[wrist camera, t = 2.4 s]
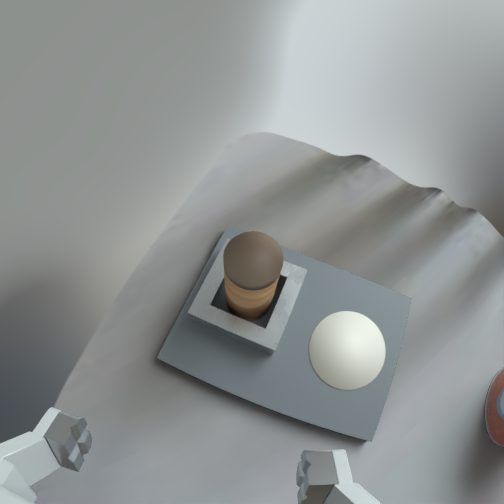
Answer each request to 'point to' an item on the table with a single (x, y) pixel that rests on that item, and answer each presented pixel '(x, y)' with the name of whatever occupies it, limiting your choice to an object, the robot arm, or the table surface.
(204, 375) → the base plate
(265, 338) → the collar
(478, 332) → the table surface
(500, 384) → the canned food
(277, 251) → the plug
